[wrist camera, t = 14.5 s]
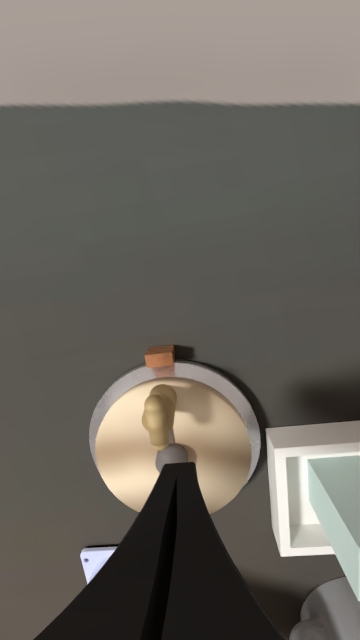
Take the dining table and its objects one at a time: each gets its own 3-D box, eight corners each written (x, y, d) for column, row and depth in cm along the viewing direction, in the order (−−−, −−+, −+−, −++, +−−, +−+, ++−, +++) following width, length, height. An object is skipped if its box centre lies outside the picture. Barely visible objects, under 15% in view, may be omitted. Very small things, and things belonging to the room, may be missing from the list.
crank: (253, 502, 22) (270, 569, 18) (114, 511, 23) (93, 578, 18) (240, 358, 20) (256, 390, 15) (84, 375, 21) (51, 410, 16)
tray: (388, 520, 24) (410, 550, 21) (272, 526, 24) (280, 556, 22) (392, 417, 21) (418, 437, 19) (265, 428, 22) (274, 448, 20)
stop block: (357, 496, 22) (429, 598, 16) (308, 499, 23) (358, 601, 16) (357, 455, 22) (433, 544, 15) (307, 459, 22) (358, 548, 15)
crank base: (262, 499, 24) (268, 518, 22) (109, 509, 25) (103, 528, 23) (250, 336, 21) (255, 343, 19) (76, 355, 22) (65, 363, 20)
